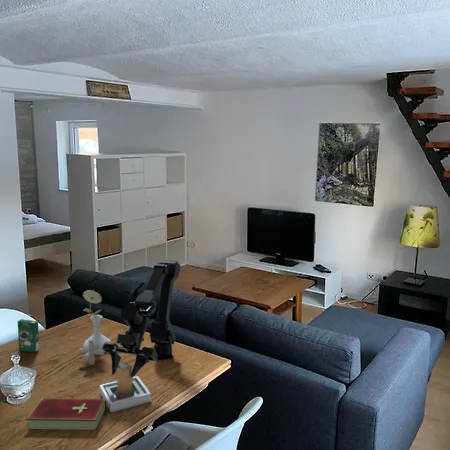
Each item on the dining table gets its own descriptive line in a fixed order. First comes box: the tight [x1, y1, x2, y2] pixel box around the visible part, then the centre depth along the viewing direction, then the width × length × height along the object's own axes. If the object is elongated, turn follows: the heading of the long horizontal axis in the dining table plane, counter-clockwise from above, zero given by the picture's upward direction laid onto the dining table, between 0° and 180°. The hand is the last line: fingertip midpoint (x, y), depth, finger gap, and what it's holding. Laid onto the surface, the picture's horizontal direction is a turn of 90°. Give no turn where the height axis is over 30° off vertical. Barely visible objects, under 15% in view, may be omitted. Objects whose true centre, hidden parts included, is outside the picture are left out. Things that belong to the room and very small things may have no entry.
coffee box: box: [17, 319, 40, 353], centre depth 194 cm, size 8×3×13 cm, turn 79°
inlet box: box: [99, 375, 152, 413], centre depth 160 cm, size 14×14×3 cm
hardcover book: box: [25, 397, 108, 431], centre depth 147 cm, size 12×21×4 cm, turn 89°
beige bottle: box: [115, 362, 135, 399], centre depth 159 cm, size 6×6×12 cm
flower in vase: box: [82, 289, 112, 350], centre depth 196 cm, size 13×11×25 cm
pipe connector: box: [78, 338, 105, 366], centre depth 183 cm, size 10×10×10 cm
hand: (122, 376), depth 157 cm, fingers open, 7 cm apart
